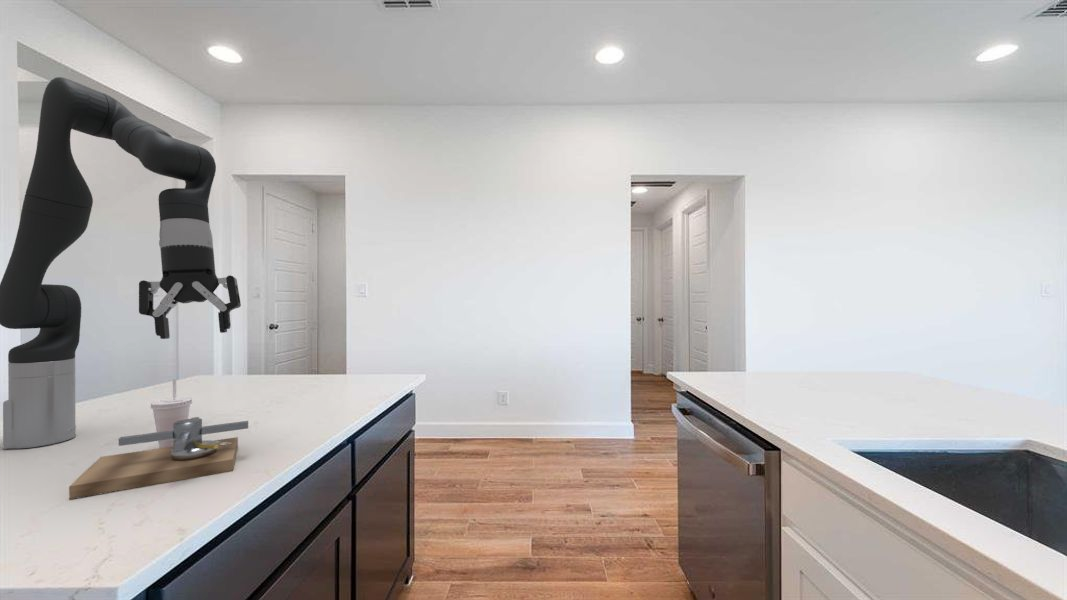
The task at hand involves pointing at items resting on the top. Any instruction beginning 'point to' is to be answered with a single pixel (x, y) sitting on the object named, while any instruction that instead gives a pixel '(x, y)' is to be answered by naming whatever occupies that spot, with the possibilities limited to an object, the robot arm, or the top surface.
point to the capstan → (186, 437)
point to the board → (151, 469)
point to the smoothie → (170, 414)
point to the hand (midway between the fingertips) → (194, 335)
